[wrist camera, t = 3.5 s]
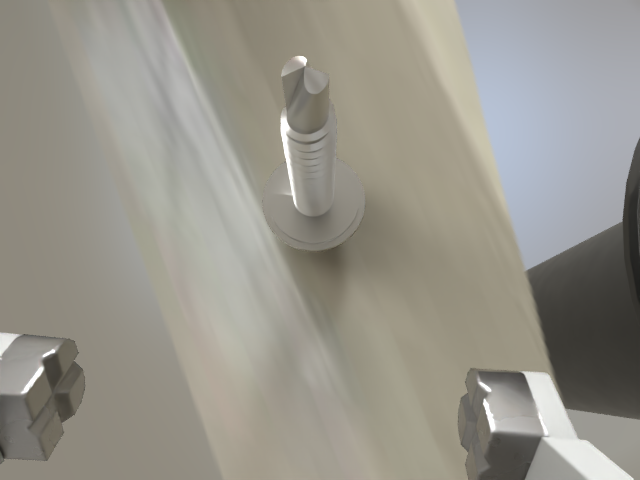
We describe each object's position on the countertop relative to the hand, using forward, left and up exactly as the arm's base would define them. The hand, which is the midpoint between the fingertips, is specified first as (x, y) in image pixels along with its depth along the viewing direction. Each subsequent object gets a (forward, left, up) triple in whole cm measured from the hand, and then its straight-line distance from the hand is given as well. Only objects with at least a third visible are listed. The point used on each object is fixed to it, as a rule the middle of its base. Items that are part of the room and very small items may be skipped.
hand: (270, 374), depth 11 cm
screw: (-3, -7, -14) cm, 16 cm away
